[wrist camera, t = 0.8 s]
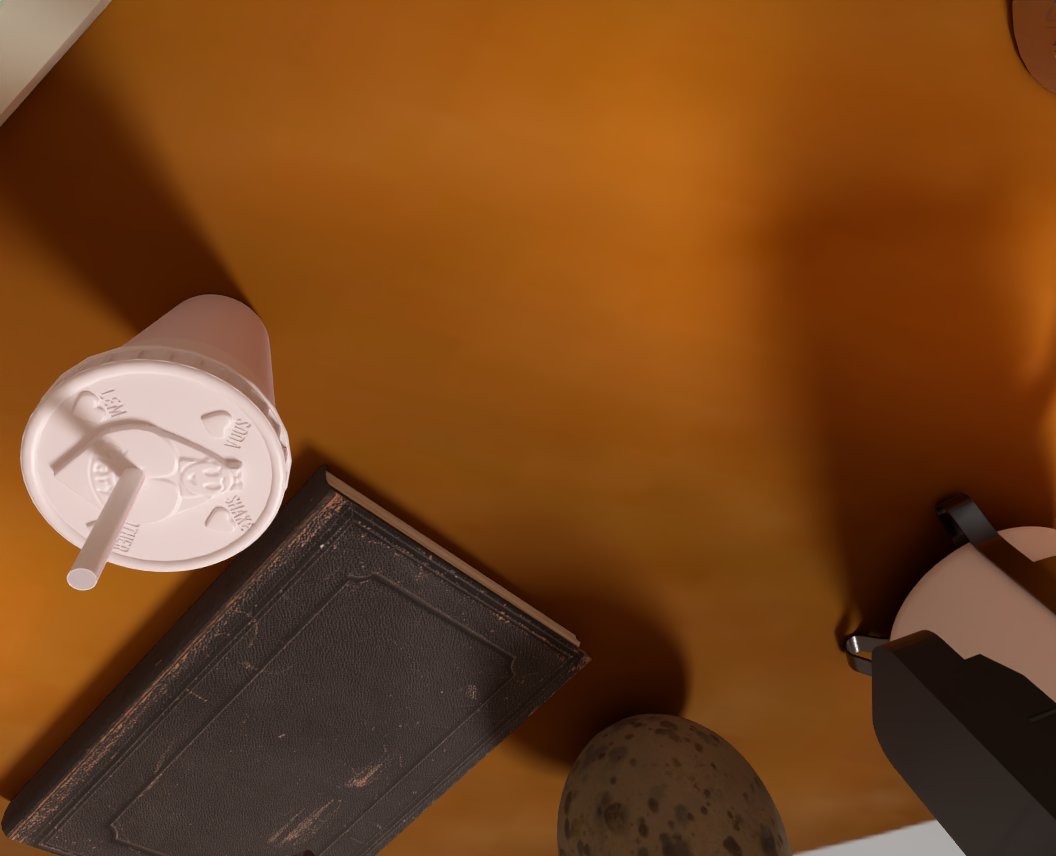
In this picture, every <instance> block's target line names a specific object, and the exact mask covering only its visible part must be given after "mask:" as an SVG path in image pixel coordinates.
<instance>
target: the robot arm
mask: <svg viewBox="0 0 1056 856" xmlns="http://www.w3.org/2000/svg"><path fill="white" fill-rule="evenodd" d="M1012 8H1013V24H1014V34H1015V38H1016V42H1017V45H1018V49H1019V53H1020V56H1021V58H1022V60H1023V62H1024V63H1025V65H1026V67H1027V69H1028V70H1029V72H1030V74H1031V75H1032V76H1033V77H1034V78H1035V79H1036V80H1037V81H1038V82H1039V83H1040V84H1041V85H1042V86H1043V87H1044V88H1045V89H1046V90H1048V91H1051V92H1053V93H1055V94H1056V0H1013V4H1012ZM872 715H873V725H874V730H875V733H876V736H877V738H878V741H879V743H880V745H881V747H882V749H883V751H884V753H885V755H886V756H887V758H888V759H889V761H890V762H891V764H892V765H893V766H894V768H895V769H896V770H897V772H898V773H899V774H900V775H901V776H902V778H903V779H904V780H905V781H906V783H907V784H908V785H909V786H910V787H911V789H912V790H913V791H914V792H915V794H916V795H917V796H918V797H919V798H920V800H921V801H922V802H923V803H924V805H925V806H926V807H927V808H928V809H929V811H930V812H931V813H932V814H933V816H934V817H935V818H936V819H937V820H938V822H939V823H940V824H941V825H942V827H943V828H944V829H945V830H946V832H947V833H948V834H949V835H950V836H951V837H952V839H953V840H954V841H955V843H956V844H957V845H958V846H959V847H960V849H961V850H962V851H963V852H964V854H965V855H966V856H1056V703H1055V702H1054V701H1053V700H1052V699H1051V698H1050V697H1049V696H1047V695H1046V694H1045V693H1044V692H1043V691H1042V690H1040V689H1039V688H1038V687H1037V686H1036V685H1035V684H1033V683H1032V682H1031V681H1030V680H1029V679H1028V678H1026V677H1025V676H1024V675H1023V674H1021V673H1019V672H1016V671H1014V670H1012V669H1010V668H1008V667H1006V666H1004V665H1002V664H1000V663H998V662H996V661H994V660H992V659H990V658H988V657H986V656H983V655H981V654H978V655H975V656H973V657H970V658H967V659H963V658H962V657H961V656H960V655H959V654H958V653H957V652H956V651H955V650H954V649H953V648H951V647H950V646H949V645H948V644H947V643H946V642H945V641H944V640H943V639H942V638H940V637H939V636H938V635H937V634H935V633H933V632H931V631H929V630H921V631H918V632H915V633H912V634H910V635H907V636H904V637H901V638H899V639H896V640H893V641H890V642H888V643H885V644H882V645H879V646H877V647H875V648H874V649H873V651H872ZM291 856H315V855H314V853H313V852H312V851H310V850H305V851H302V852H300V853H297V854H294V855H291Z"/></svg>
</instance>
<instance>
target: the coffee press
mask: <svg viewBox="0 0 1056 856" xmlns="http://www.w3.org/2000/svg"><path fill="white" fill-rule="evenodd" d="M936 513H937V516H938V518H939V519H940V521H941V523H942V524H943V526H944V528H945V529H946V531H947V533H948V534H949V536H950V538H951V540H952V542H953V545H954V548H955V551H954V552H952V553H951V554H949V555H948V556H946V557H945V558H944V559H942V560H941V561H940V562H939V563H937V564H936V565H935V566H934V567H933V568H932V569H931V570H929V571H928V572H927V573H926V574H925V575H924V576H923V577H922V579H921V580H920V581H919V582H918V583H917V584H916V585H915V587H914V588H913V589H912V591H911V592H910V593H909V595H908V596H907V598H906V599H905V601H904V603H903V604H902V606H901V608H900V610H899V612H898V614H897V616H896V619H895V621H894V624H893V627H892V631H891V636H890V637H886V638H884V637H875V636H869V635H863V634H855V635H851V636H849V637H848V638H847V639H846V640H845V642H844V650H845V654H846V657H847V661H848V664H849V666H850V667H851V668H852V669H853V670H855V671H857V672H860V673H863V674H866V675H869V676H872V660H869V659H866V658H863V657H860V656H857V655H854V653H856V652H859V651H866V652H872V651H873V649H874V648H875V647H877V646H879V645H882V644H885V643H888V642H890V641H893V640H896V639H899V638H901V637H904V636H907V635H910V634H912V633H915V632H918V631H921V630H929V631H931V632H933V633H935V634H937V635H938V636H939V637H940V638H942V639H943V640H944V641H945V642H946V643H947V644H948V645H949V646H950V647H951V648H953V649H954V650H955V651H956V652H957V653H958V654H959V655H960V656H961V657H962V658H963V659H967V658H970V657H973V656H975V655H978V654H981V655H983V656H986V657H988V658H990V659H992V660H994V661H996V662H998V663H1000V664H1002V665H1004V666H1006V667H1008V668H1010V669H1012V670H1014V671H1016V672H1019V673H1021V674H1023V675H1024V676H1025V677H1026V678H1028V679H1029V680H1030V681H1031V682H1032V683H1033V684H1035V685H1036V686H1037V687H1038V688H1039V689H1040V690H1042V691H1043V692H1044V693H1045V694H1046V695H1047V696H1049V697H1050V698H1051V699H1052V700H1053V701H1054V702H1055V703H1056V529H1052V528H1046V527H1036V526H1027V527H1016V528H1010V529H1005V530H1001V531H996V530H995V529H994V528H993V527H992V525H991V524H990V523H989V521H988V520H987V519H986V518H985V516H984V515H983V513H982V512H981V511H980V509H979V508H978V507H977V505H976V504H975V503H974V501H973V500H972V499H971V498H970V497H969V496H968V495H966V494H964V493H960V494H958V495H956V496H954V497H952V498H950V499H948V500H946V501H944V502H941V503H939V504H937V505H936Z"/></svg>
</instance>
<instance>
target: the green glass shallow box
mask: <svg viewBox="0 0 1056 856" xmlns="http://www.w3.org/2000/svg"><path fill="white" fill-rule="evenodd" d="M111 1H112V0H0V127H1V126H2V124H3V123H4V122H5V121H6V120H7V119H8V118H9V117H10V115H11V114H12V113H13V112H14V111H15V110H16V109H17V107H18V106H19V105H20V104H21V103H22V102H23V101H24V100H25V98H26V97H27V96H28V95H29V94H30V93H31V92H32V90H33V89H34V88H35V87H36V86H37V85H38V84H39V83H40V81H41V80H42V79H43V78H44V77H45V76H46V75H47V73H48V72H49V71H50V70H51V69H52V68H53V67H54V65H55V64H56V63H57V62H58V61H59V60H60V59H61V58H62V56H63V55H64V54H65V53H66V52H67V51H68V50H69V48H70V47H71V46H72V45H73V44H74V43H75V42H76V41H77V39H78V38H79V37H80V36H81V35H82V34H83V33H84V31H85V30H86V29H87V28H88V27H89V26H90V25H91V23H92V22H93V21H94V20H95V19H96V18H97V17H98V16H99V14H100V13H101V12H102V11H103V10H104V9H105V8H106V6H107V5H108V4H109V3H110V2H111Z"/></svg>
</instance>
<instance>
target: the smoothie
mask: <svg viewBox="0 0 1056 856" xmlns="http://www.w3.org/2000/svg"><path fill="white" fill-rule="evenodd" d="M291 462H292V459H291V453H290V446H289V439H288V433H287V431H286V429H285V427H284V425H283V423H282V421H281V419H280V416H279V414H278V412H277V410H276V408H275V400H274V388H273V377H272V366H271V354H270V343H269V337H268V333H267V330H266V328H265V326H264V324H263V322H262V321H261V319H260V318H259V317H258V315H257V314H256V313H255V312H254V311H253V310H251V309H250V308H249V307H248V306H246V305H245V304H243V303H242V302H240V301H238V300H235V299H233V298H230V297H227V296H222V295H215V294H207V295H199V296H195V297H192V298H189V299H187V300H185V301H183V302H182V303H180V304H179V305H177V306H176V307H175V308H173V309H172V310H171V311H169V312H168V313H166V314H165V315H164V316H162V317H161V318H160V319H158V320H157V321H156V322H154V323H153V324H151V325H150V326H149V327H147V328H146V329H145V330H143V331H142V332H141V333H139V334H138V335H136V336H135V337H134V338H132V339H131V340H130V341H128V342H127V343H125V344H124V345H123V346H121V347H119V348H116V349H113V350H110V351H106V352H103V353H100V354H97V355H93V356H90V357H88V358H86V359H85V360H83V361H82V362H80V363H79V364H77V365H75V366H74V367H72V368H71V369H69V370H68V371H66V372H65V373H63V374H61V375H60V377H59V378H58V379H57V380H56V381H55V383H54V384H53V385H52V386H51V387H50V389H49V390H48V391H47V392H46V393H45V395H44V396H43V397H42V398H41V400H40V403H39V404H38V406H37V407H36V408H35V410H34V412H33V413H32V415H31V417H30V419H29V421H28V423H27V425H26V428H25V431H24V435H23V438H22V444H21V468H22V474H23V478H24V482H25V485H26V487H27V490H28V493H29V495H30V497H31V499H32V501H33V502H34V504H35V506H36V507H37V509H38V510H39V512H40V513H41V514H42V516H43V517H44V518H45V520H46V521H47V522H48V523H49V524H50V525H51V526H52V527H53V528H54V529H55V530H56V531H57V532H58V533H59V534H61V535H62V536H63V537H64V538H65V539H67V540H68V541H70V542H71V543H72V544H74V545H75V546H77V547H79V548H80V549H81V551H80V553H79V555H78V557H77V559H76V560H75V562H74V564H73V566H72V568H71V570H70V572H69V574H68V576H67V581H68V583H69V584H70V586H72V587H73V588H75V589H78V590H88V589H91V588H93V587H94V586H95V585H96V583H97V581H98V579H99V577H100V575H101V572H102V570H103V568H104V566H105V564H106V562H110V563H113V564H116V565H120V566H124V567H128V568H132V569H138V570H145V571H155V572H174V571H185V570H192V569H197V568H202V567H206V566H209V565H213V564H215V563H218V562H221V561H223V560H226V559H228V558H230V557H232V556H234V555H236V554H237V553H239V552H241V551H242V550H244V549H245V548H247V547H248V546H249V545H251V544H252V543H253V542H254V541H255V540H257V539H258V538H259V537H260V536H261V535H262V534H263V532H264V531H265V530H266V529H267V528H268V526H269V525H270V524H271V522H272V521H273V519H274V518H275V516H276V514H277V512H278V510H279V508H280V505H281V503H282V499H283V496H284V492H285V490H286V488H287V486H288V480H289V474H290V468H291Z"/></svg>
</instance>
